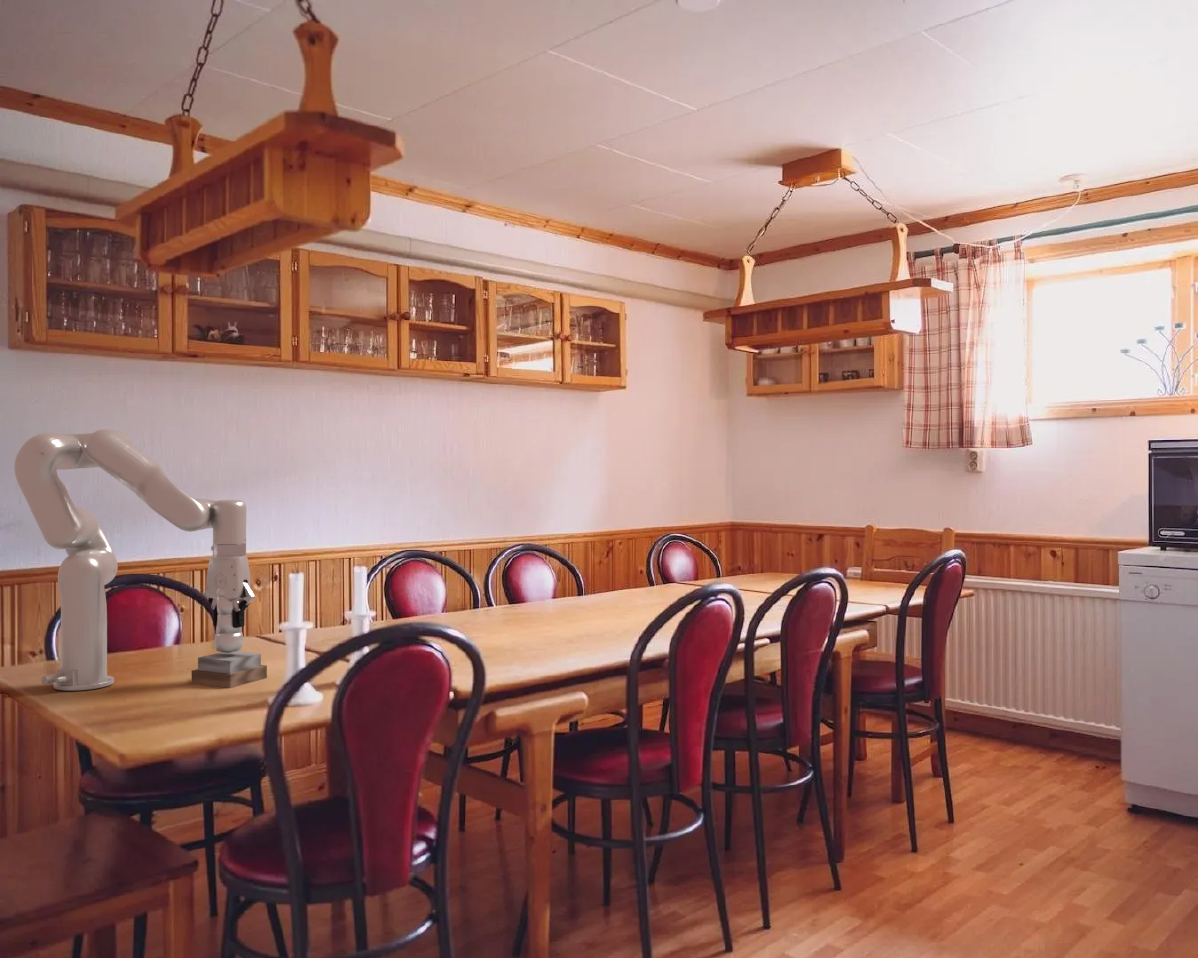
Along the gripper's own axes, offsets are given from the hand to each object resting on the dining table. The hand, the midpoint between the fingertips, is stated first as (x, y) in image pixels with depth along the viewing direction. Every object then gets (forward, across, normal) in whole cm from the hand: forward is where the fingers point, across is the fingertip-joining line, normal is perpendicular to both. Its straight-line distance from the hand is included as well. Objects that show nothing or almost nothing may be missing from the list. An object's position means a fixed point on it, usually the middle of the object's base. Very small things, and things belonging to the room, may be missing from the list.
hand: (228, 625), depth 232 cm
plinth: (+13, 0, 0) cm, 13 cm away
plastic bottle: (+7, 0, 0) cm, 7 cm away
